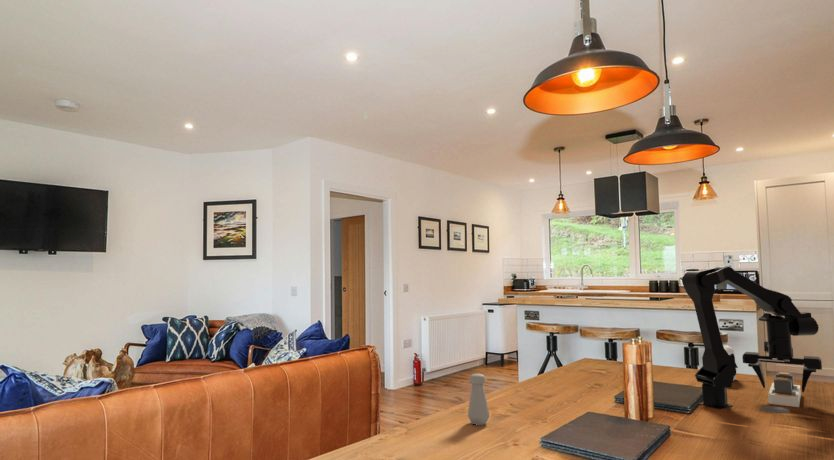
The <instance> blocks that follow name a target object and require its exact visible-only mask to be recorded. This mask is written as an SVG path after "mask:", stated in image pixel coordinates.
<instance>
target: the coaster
mask: <svg viewBox="0 0 834 460" xmlns="http://www.w3.org/2000/svg"><path fill="white" fill-rule="evenodd" d="M758 408H759V410H760V411H763V412H766V413H772V414H789V413H791V411H790V410H789V409H787V408H784V407H779V406H773V405H772V406H771V405H770V406H769V405H763V406H759V407H758Z"/></svg>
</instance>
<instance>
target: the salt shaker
mask: <svg viewBox="0 0 834 460" xmlns="http://www.w3.org/2000/svg"><path fill="white" fill-rule="evenodd" d="M468 378H469V383H470V384H471V387H470V388H471V389H470V394H469V403H468V411H467V416H468V418H469V421H470V423H471V424H477V425H481V426H484V425H483V424H485V425H486V424H487V423H488V420H489V418H490V411H489V406H488V400H487V396H486V392H485V386H484V384H485V383H486V376H485V375H484V374H482V373H472V374H470V375H469V377H468ZM486 422H487V423H486ZM477 425H476V426H477Z"/></svg>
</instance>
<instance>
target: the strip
mask: <svg viewBox="0 0 834 460" xmlns="http://www.w3.org/2000/svg"><path fill="white" fill-rule="evenodd" d="M778 377H780V378H788V379H791V381H792V392H793V396H792V395H786V394H777V393H775V389H774V382H772V383H771V385H770V388H769V391H768V394H767V397H768V404H770V405H776V406H777V405H778V406H786V407H793V408H800V404H801V403H800V402H801V397H802V388H801V384H800V385H799V384H794V373H790V372H785V371H784V372H783V371H779V372H776V373H775V378H778Z"/></svg>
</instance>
